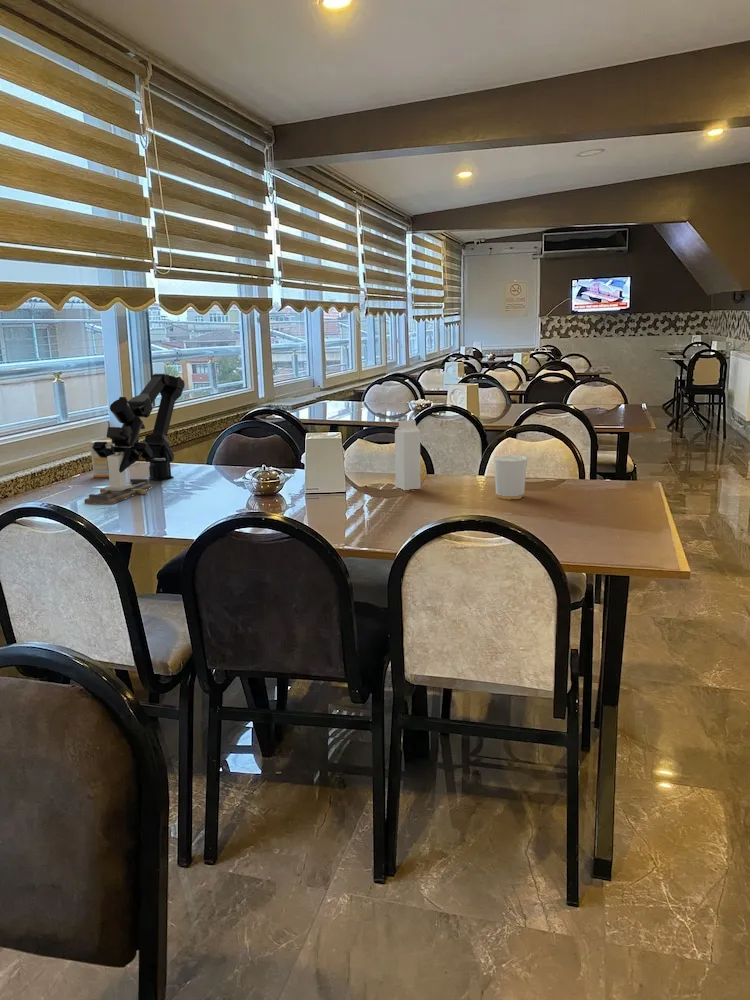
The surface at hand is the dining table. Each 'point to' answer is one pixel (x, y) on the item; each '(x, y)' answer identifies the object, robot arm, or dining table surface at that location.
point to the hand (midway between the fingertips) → (114, 471)
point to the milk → (407, 455)
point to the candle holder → (510, 475)
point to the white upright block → (116, 474)
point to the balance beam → (120, 492)
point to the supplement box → (99, 461)
